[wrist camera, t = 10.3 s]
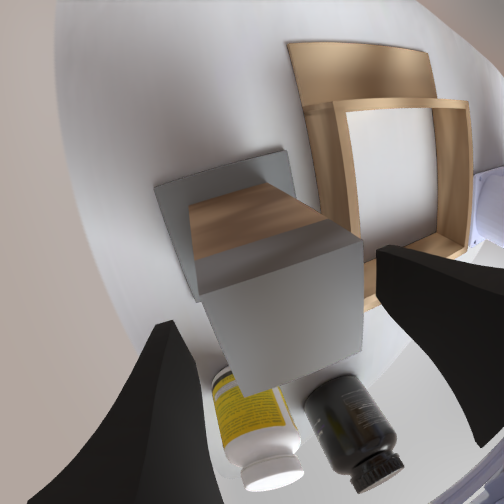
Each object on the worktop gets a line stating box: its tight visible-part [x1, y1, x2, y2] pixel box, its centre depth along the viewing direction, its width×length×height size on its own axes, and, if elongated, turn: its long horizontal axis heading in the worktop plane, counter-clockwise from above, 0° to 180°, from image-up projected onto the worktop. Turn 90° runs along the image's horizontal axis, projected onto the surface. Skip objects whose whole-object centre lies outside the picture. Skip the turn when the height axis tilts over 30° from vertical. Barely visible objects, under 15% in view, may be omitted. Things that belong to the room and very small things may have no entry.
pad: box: [154, 150, 296, 303], centre depth 16 cm, size 8×8×1 cm
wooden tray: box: [287, 42, 473, 312], centre depth 16 cm, size 12×20×4 cm, turn 13°
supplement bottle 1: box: [212, 366, 304, 491], centre depth 17 cm, size 5×5×10 cm
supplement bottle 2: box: [304, 376, 404, 494], centre depth 21 cm, size 7×7×12 cm
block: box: [188, 183, 364, 397], centre depth 12 cm, size 4×4×9 cm
